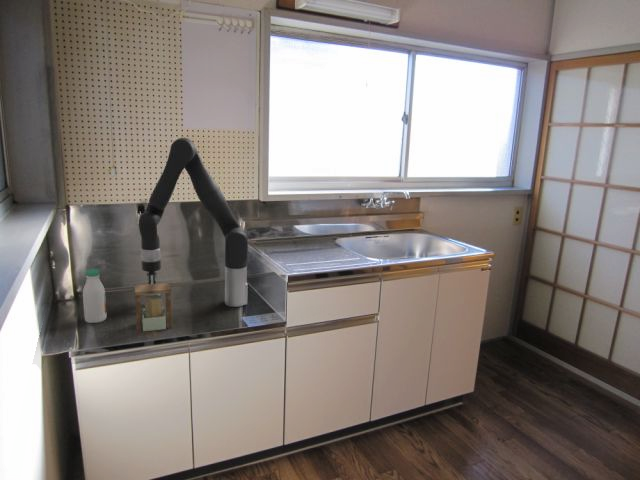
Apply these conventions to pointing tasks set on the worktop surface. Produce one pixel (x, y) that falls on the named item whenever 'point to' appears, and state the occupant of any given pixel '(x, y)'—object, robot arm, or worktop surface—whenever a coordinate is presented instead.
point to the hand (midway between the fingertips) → (152, 297)
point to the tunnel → (153, 290)
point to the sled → (154, 321)
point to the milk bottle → (94, 298)
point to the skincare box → (153, 306)
